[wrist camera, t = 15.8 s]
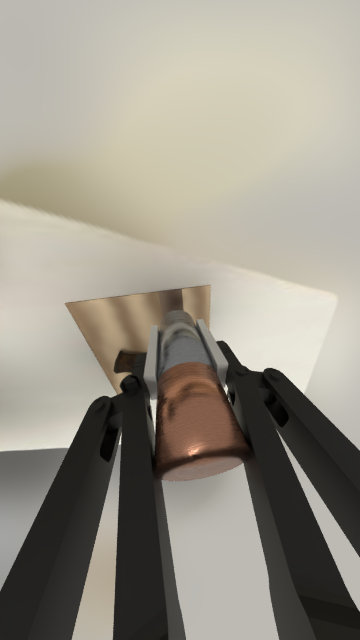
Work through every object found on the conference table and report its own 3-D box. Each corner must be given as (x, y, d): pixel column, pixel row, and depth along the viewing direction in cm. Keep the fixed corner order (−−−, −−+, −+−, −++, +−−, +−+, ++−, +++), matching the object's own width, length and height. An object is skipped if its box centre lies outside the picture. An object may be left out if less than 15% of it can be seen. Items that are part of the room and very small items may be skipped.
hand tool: (117, 361, 27) (110, 380, 23) (119, 347, 26) (111, 365, 22) (197, 370, 32) (202, 387, 28) (203, 359, 31) (209, 376, 27)
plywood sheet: (120, 399, 34) (120, 400, 34) (65, 303, 20) (64, 303, 20) (207, 384, 36) (207, 384, 36) (210, 285, 22) (210, 285, 22)
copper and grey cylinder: (162, 341, 17) (162, 486, 7) (156, 312, 15) (142, 459, 4) (194, 337, 17) (242, 469, 7) (193, 307, 15) (261, 436, 5)
